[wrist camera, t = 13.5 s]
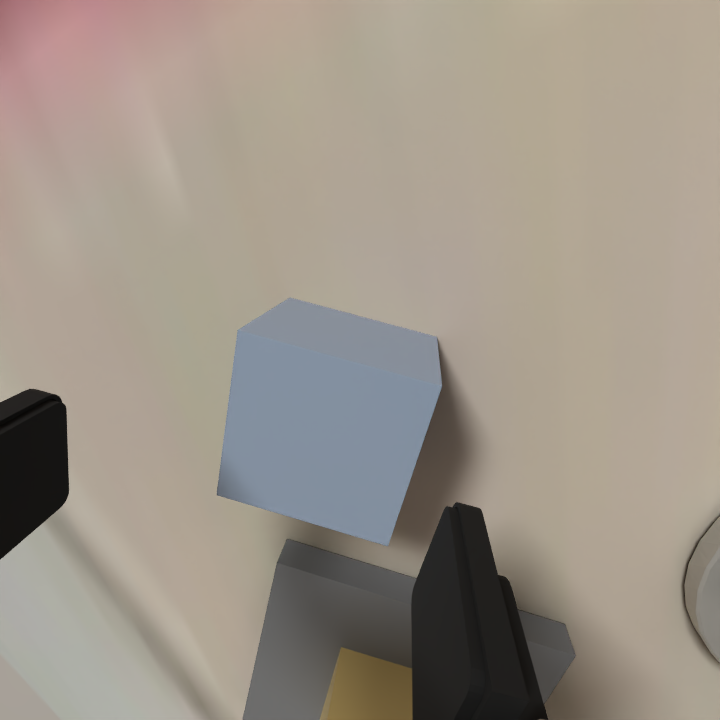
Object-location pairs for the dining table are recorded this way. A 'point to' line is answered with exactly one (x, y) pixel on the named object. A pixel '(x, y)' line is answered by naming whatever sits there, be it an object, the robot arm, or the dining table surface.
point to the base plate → (352, 631)
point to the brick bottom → (368, 689)
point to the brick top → (328, 417)
